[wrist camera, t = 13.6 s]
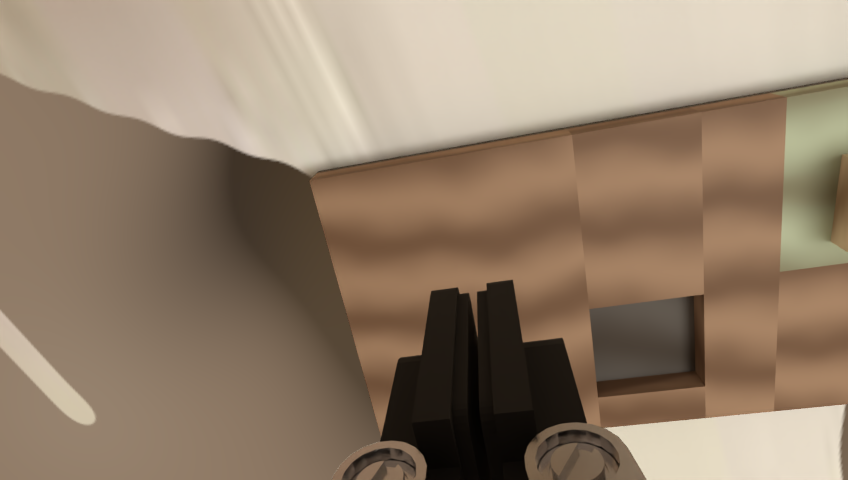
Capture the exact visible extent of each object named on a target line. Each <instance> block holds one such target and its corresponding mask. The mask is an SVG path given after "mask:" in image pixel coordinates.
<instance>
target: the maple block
mask: <svg viewBox="0 0 848 480" xmlns="http://www.w3.org/2000/svg"><path fill="white" fill-rule="evenodd" d="M830 242H832V243H833V244H835V245H837V246H838V247H840V248H841V249H843V250H845V251H846V252H848V154H842V158H841V166H840V173H839V181H838V188H837V196H836V203H835V211H834V219H833V226H832V234H831V241H830Z"/></svg>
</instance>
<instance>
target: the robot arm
mask: <svg viewBox="0 0 848 480" xmlns="http://www.w3.org/2000/svg"><path fill="white" fill-rule="evenodd" d="M486 286H487V290H485V291H478V292H477V324H478V336H477V331H476V326H475V320H474V315H473V310H472V304H471V299H470V295H469V293H463V294H460V293H459V289H458V287H456V288H449V289H441V290H434V291H431V294H430V301H429V308H428V314H427V321H426V328H425V335H424V341H423V348H422V355H416V356H408V357H401V358H399V359H398V362H397V366H396V371H395V375H394V380H393V385H392V389H391V394H390V399H389V403H388V408H387V413H386V417H385V422H384V427H383V431H382V436H381V440H380V442H377V443H374V444H371V445H368V446H365V447H363V448H361V449H359V450H358V451H356V452H354V453H352V454H351V455H350V456H349V457H348V458H347V459H346V460H344V461H343V462H342V463H341V464H340V466H339V468H338V469H337V470H336V472H335V473H334V475H333V477H332V479H331V480H646V478H645V476H644V475H643V473H642V471H641V469H640V468H639V466H638V464H637V463H636V461H635V459H634V458H633V456H632V454H631V452H630V451H629V449H628V447H627V446H626V445H625V444H624V443H623V442H622V440H621V439H620V438H619V437H618V436H616V435H615V434H613V433H612V432H610V431H608V430H607V429H605V428H602V427H599V426H596V425H593V424H587V420H586V417H585V413H584V410H583V406H582V403H581V399H580V396H579V392H578V389H577V385H576V382H575V378H574V375H573V371H572V368H571V364H570V361H569V357H568V354H567V350H566V347H565V343H564V340H563V338H555V339H547V340H539V341H531V342H523V340H522V334H521V327H520V321H519V315H518V308H517V302H516V296H515V289H514V283H513V280H506V281H499V282H492V283H486Z"/></svg>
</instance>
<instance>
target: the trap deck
mask: <svg viewBox="0 0 848 480" xmlns="http://www.w3.org/2000/svg"><path fill="white" fill-rule="evenodd" d="M842 154H848V78H844V79H838V80H833V81H827V82H821V83H816V84H810V85H804V86H799V87H793V88H788V89H782V90H776V91H771V92H765V93H759V94H754V95H748V96H742V97H737V98H731V99H725V100H720V101H714V102H708V103H703V104H697V105H691V106H686V107H680V108H675V109H669V110H663V111H658V112H652V113H646V114H641V115H635V116H629V117H624V118H618V119H612V120H607V121H601V122H595V123H590V124H584V125H579V126H573V127H567V128H562V129H556V130H550V131H545V132H539V133H533V134H528V135H522V136H516V137H511V138H505V139H499V140H494V141H488V142H482V143H477V144H471V145H466V146H460V147H454V148H449V149H443V150H437V151H432V152H426V153H420V154H415V155H409V156H403V157H398V158H392V159H386V160H381V161H375V162H369V163H364V164H358V165H353V166H347V167H341V168H336V169H330V170H324V171H319V172H318V173H317V174H316V175H315V176H314V177H313V178H312V179H311V180H310V185H311V189H312V192H313V195H314V199H315V202H316V206H317V210H318V213H319V217H320V220H321V224H322V227H323V231H324V235H325V239H326V242H327V246H328V249H329V253H330V256H331V260H332V263H333V267H334V271H335V274H336V277H337V281H338V285H339V288H340V292H341V296H342V299H343V302H344V306H345V310H346V313H347V317H348V321H349V324H350V327H351V331H352V334H353V338H354V342H355V345H356V349H357V353H358V356H359V360H360V363H361V367H362V370H363V374H364V378H365V381H366V385H367V388H368V392H369V395H370V399H371V403H372V406H373V410H374V413H375V417H376V420H377V424H378V427H379V431H380V434H381V436H382V431H383V427H384V422H385V417H386V413H387V408H388V403H389V399H390V394H391V389H392V385H393V380H394V375H395V371H396V366H397V362H398V359H399V358H401V357H408V356H416V355H422V348H423V341H424V335H425V328H426V321H427V314H428V308H429V301H430V294H431V291H434V290H441V289H449V288H456V287H458V289H459V293H460V294H463V293H469V295H470V299H471V304H472V310H473V315H474V320H475V326H476V331H477V336H478V324H477V292H478V291H485V290H487V286H486V283H492V282H499V281H506V280H513V283H514V289H515V296H516V302H517V308H518V315H519V321H520V327H521V334H522V340H523V342H531V341H539V340H547V339H555V338H563V340H564V343H565V347H566V350H567V354H568V357H569V361H570V364H571V368H572V371H573V375H574V378H575V382H576V385H577V389H578V392H579V396H580V399H581V403H582V406H583V410H584V413H585V417H586V420H587V424H593V425H596V426H599V427H602V428H607V427H617V426H627V425H637V424H648V423H658V422H668V421H678V420H689V419H699V418H709V417H719V416H730V415H740V414H750V413H760V412H771V411H781V410H791V409H801V408H812V407H822V406H832V405H842V404H848V252H846V251H845V250H843V249H841V248H840V247H838V246H837V245H835V244H833V243H832V242H830V241H831V234H832V226H833V219H834V211H835V203H836V196H837V188H838V181H839V173H840V166H841V158H842Z"/></svg>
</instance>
